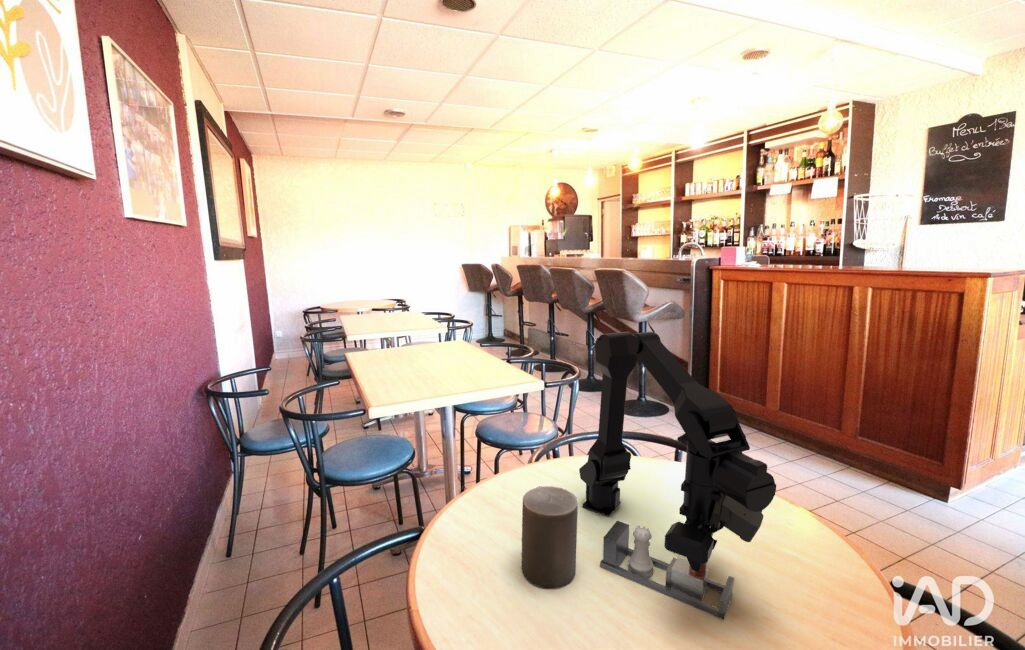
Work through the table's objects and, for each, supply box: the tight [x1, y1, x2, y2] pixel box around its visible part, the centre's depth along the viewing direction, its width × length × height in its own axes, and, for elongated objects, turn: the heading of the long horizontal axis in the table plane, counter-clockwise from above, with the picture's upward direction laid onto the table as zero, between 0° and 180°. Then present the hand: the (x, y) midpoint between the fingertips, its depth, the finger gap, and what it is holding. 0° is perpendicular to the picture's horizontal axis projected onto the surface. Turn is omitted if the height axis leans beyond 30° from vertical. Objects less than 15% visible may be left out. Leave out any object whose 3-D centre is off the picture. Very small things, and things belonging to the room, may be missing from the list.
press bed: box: [599, 520, 735, 621], centre depth 81 cm, size 21×7×6 cm, turn 55°
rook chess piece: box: [627, 525, 655, 579], centre depth 83 cm, size 4×4×8 cm
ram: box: [664, 556, 709, 601], centre depth 78 cm, size 6×4×10 cm
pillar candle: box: [521, 485, 578, 590], centre depth 83 cm, size 10×10×15 cm
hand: (698, 565), depth 77 cm, fingers closed on ram, 3 cm apart
